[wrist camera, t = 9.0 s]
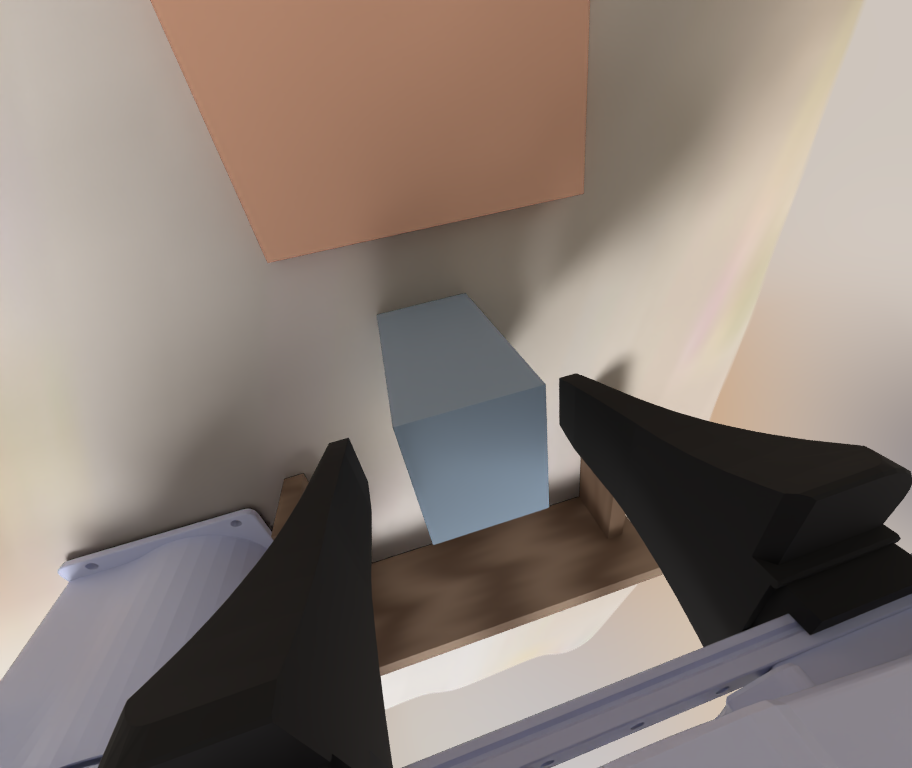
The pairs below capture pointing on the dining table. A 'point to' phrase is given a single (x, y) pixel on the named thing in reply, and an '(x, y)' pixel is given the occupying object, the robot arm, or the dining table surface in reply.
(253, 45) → the tile
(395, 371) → the block
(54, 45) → the dining table surface
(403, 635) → the wooden u-shaped rack
